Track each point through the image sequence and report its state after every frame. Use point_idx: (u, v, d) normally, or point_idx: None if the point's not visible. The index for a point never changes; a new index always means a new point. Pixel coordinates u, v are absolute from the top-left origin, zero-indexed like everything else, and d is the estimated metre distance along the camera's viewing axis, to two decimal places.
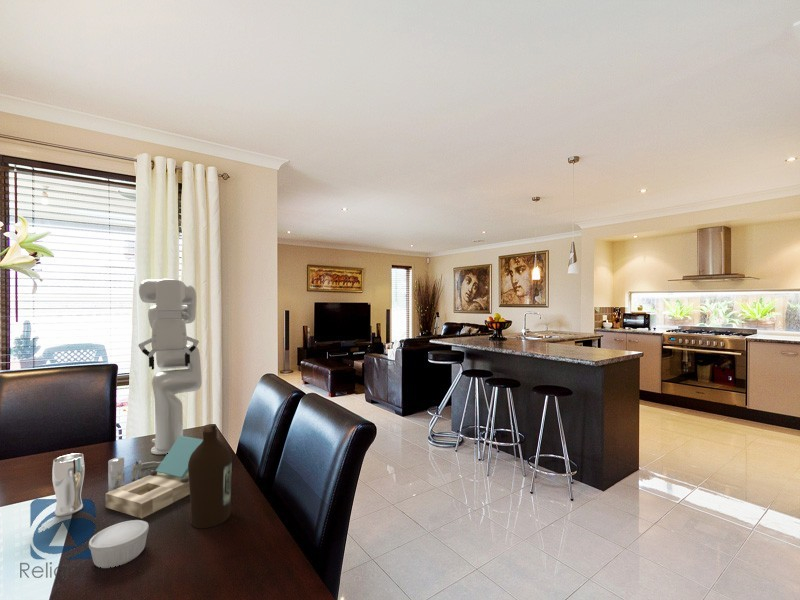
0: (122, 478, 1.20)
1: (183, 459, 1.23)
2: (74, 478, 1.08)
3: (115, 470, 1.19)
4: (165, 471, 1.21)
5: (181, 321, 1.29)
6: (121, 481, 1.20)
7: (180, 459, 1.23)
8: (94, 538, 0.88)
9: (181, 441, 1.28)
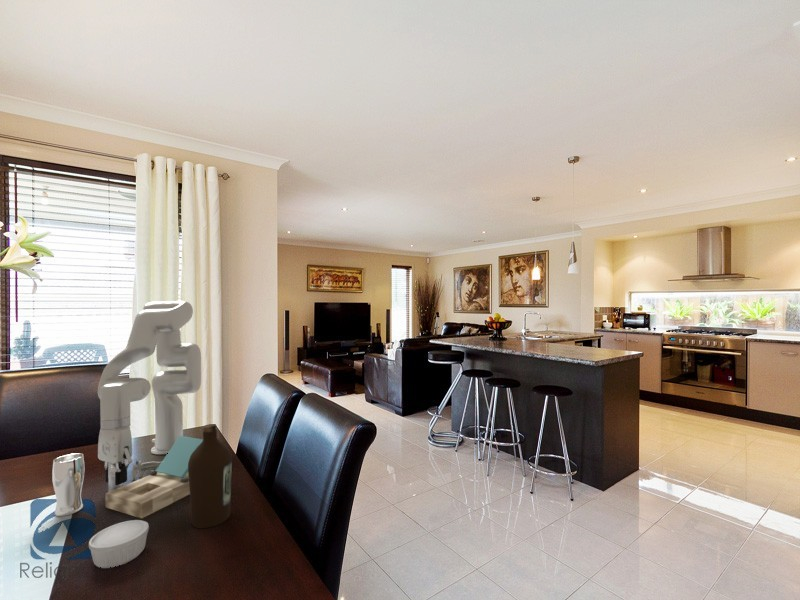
0: None
1: (183, 459, 1.23)
2: (74, 478, 1.08)
3: (115, 470, 1.19)
4: (165, 471, 1.21)
5: None
6: None
7: (180, 459, 1.23)
8: (94, 538, 0.88)
9: (181, 441, 1.28)
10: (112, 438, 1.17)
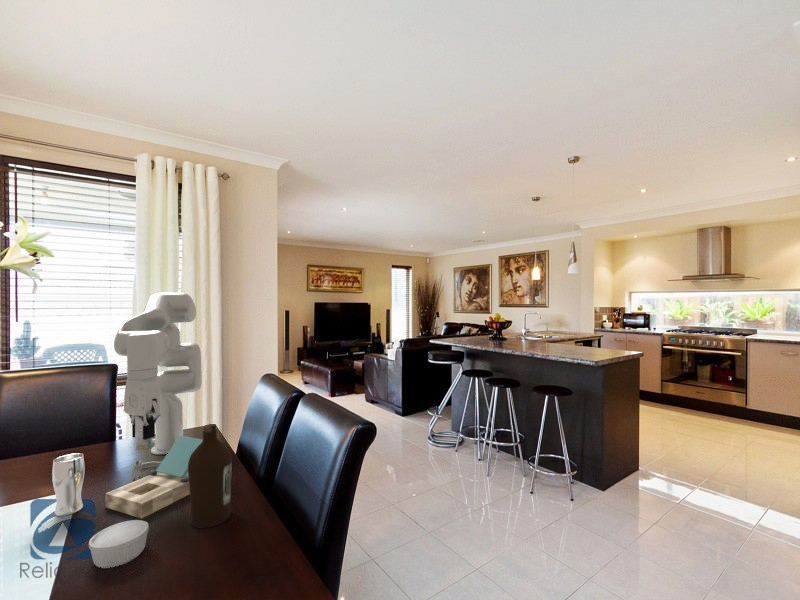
0: None
1: (183, 459, 1.23)
2: (74, 478, 1.08)
3: (143, 424, 1.12)
4: (165, 471, 1.21)
5: None
6: None
7: (180, 459, 1.23)
8: (94, 538, 0.88)
9: (181, 441, 1.28)
10: (140, 389, 1.10)
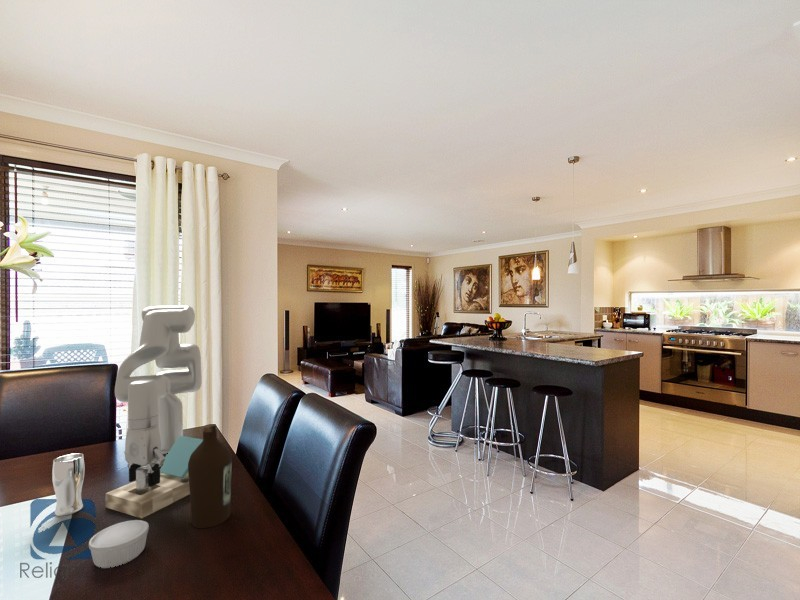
0: (150, 487, 1.13)
1: (183, 459, 1.23)
2: (74, 478, 1.08)
3: (144, 479, 1.12)
4: (165, 471, 1.21)
5: None
6: None
7: (180, 459, 1.23)
8: (94, 538, 0.88)
9: (181, 441, 1.28)
10: (141, 438, 1.10)
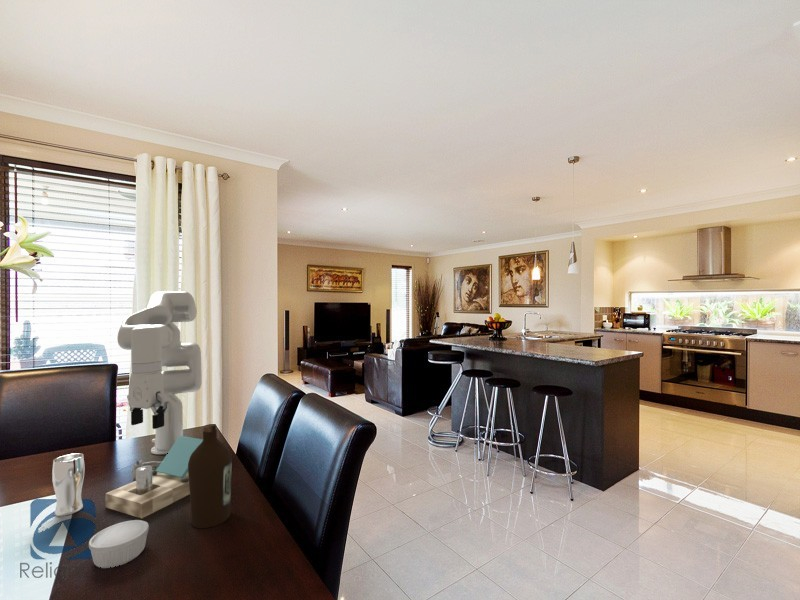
0: (150, 487, 1.13)
1: (183, 459, 1.23)
2: (74, 478, 1.08)
3: (144, 479, 1.12)
4: (165, 471, 1.21)
5: None
6: None
7: (180, 459, 1.23)
8: (94, 538, 0.88)
9: (181, 441, 1.28)
10: (144, 382, 1.11)
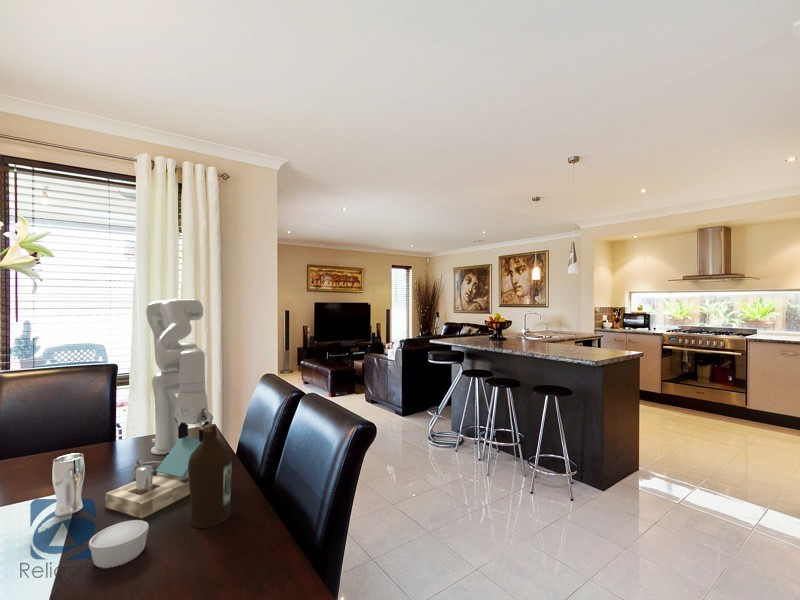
0: (150, 487, 1.13)
1: (183, 459, 1.23)
2: (74, 478, 1.08)
3: (144, 479, 1.12)
4: (165, 471, 1.21)
5: None
6: None
7: (181, 459, 1.23)
8: (94, 538, 0.88)
9: (182, 442, 1.29)
10: (191, 400, 1.25)
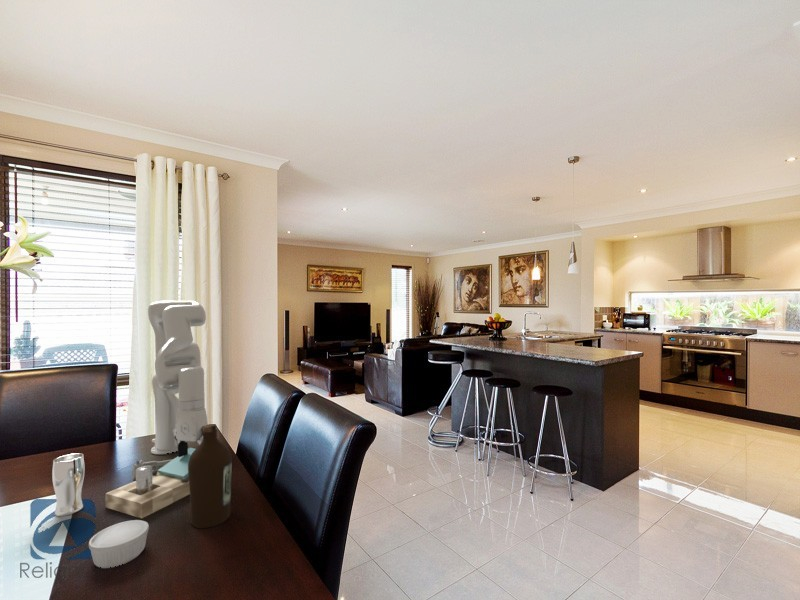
0: (150, 487, 1.13)
1: None
2: (74, 478, 1.08)
3: (144, 479, 1.12)
4: (167, 471, 1.22)
5: None
6: None
7: (185, 464, 1.24)
8: (94, 538, 0.88)
9: (189, 451, 1.31)
10: (191, 418, 1.24)
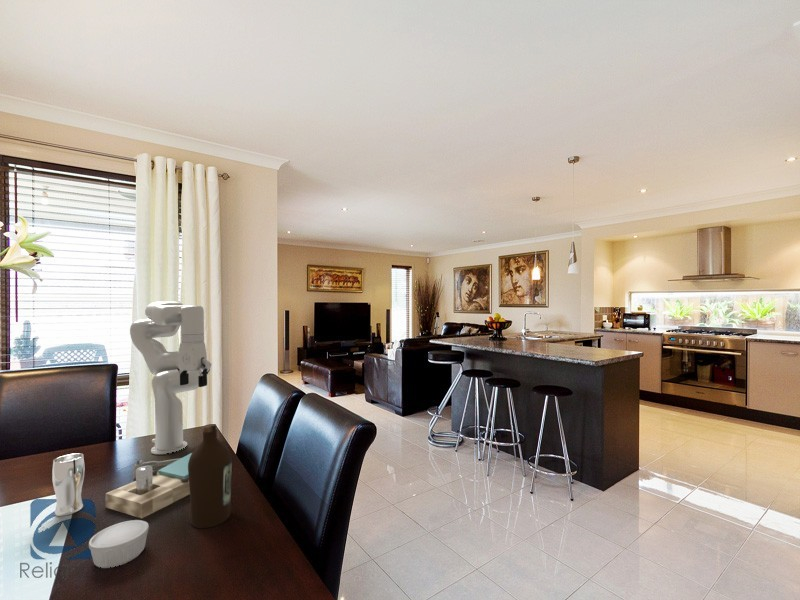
0: (150, 487, 1.13)
1: None
2: (74, 478, 1.08)
3: (144, 479, 1.12)
4: (168, 471, 1.22)
5: None
6: None
7: (186, 466, 1.25)
8: (94, 538, 0.88)
9: None
10: (192, 349, 1.39)
